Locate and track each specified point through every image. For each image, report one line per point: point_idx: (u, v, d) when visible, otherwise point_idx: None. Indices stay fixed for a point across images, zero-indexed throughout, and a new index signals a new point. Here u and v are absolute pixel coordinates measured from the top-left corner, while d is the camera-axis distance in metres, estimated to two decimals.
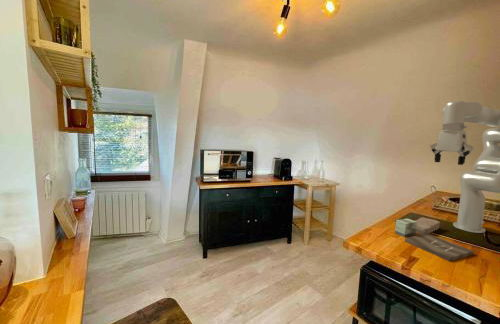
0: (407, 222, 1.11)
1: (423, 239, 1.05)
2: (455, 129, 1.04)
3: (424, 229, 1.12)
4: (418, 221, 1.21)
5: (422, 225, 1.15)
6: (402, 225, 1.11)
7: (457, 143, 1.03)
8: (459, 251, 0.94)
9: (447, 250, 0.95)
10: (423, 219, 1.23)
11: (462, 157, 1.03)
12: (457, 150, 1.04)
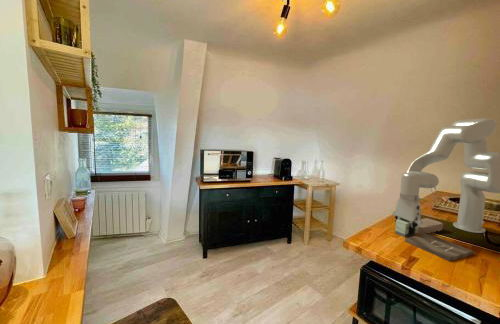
0: (407, 222, 1.11)
1: (423, 239, 1.05)
2: (410, 200, 1.08)
3: (419, 228, 1.14)
4: None
5: None
6: (402, 225, 1.11)
7: (412, 214, 1.08)
8: (459, 251, 0.94)
9: (447, 250, 0.95)
10: (426, 220, 1.22)
11: (412, 228, 1.10)
12: (412, 220, 1.09)
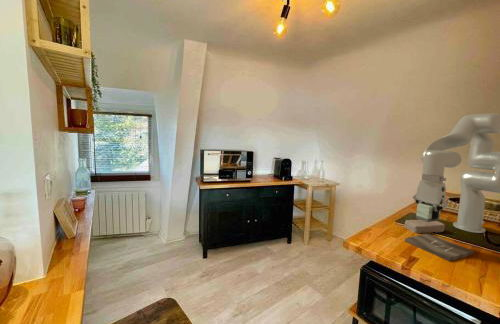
0: (430, 206, 1.01)
1: (423, 239, 1.05)
2: (434, 181, 0.98)
3: (415, 226, 1.15)
4: (418, 221, 1.21)
5: (416, 223, 1.17)
6: (425, 208, 1.01)
7: (436, 196, 0.98)
8: (459, 251, 0.94)
9: (447, 250, 0.95)
10: None
11: (436, 212, 1.00)
12: (436, 203, 0.98)
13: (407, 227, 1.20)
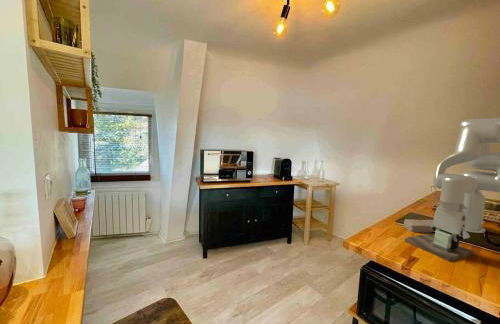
0: (449, 234, 0.95)
1: (423, 239, 1.05)
2: (453, 209, 0.92)
3: (411, 225, 1.17)
4: (419, 220, 1.22)
5: (414, 222, 1.19)
6: (444, 237, 0.94)
7: (456, 225, 0.92)
8: (459, 251, 0.94)
9: None
10: (430, 221, 1.21)
11: (455, 242, 0.93)
12: (456, 233, 0.92)
13: (405, 226, 1.22)
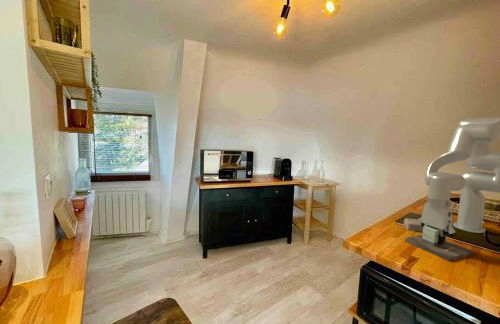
0: (436, 229, 0.99)
1: None
2: (440, 206, 0.96)
3: (408, 224, 1.19)
4: None
5: (412, 221, 1.20)
6: (431, 232, 0.99)
7: (442, 221, 0.96)
8: (459, 251, 0.94)
9: (447, 250, 0.95)
10: None
11: (442, 237, 0.98)
12: (442, 228, 0.96)
13: (404, 224, 1.24)
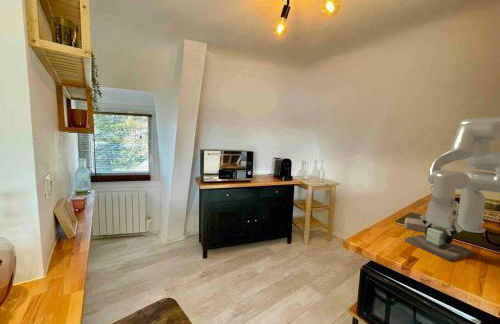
0: (441, 231, 0.98)
1: (423, 239, 1.05)
2: (445, 204, 0.95)
3: (405, 222, 1.21)
4: (421, 220, 1.22)
5: (411, 221, 1.21)
6: (435, 234, 0.97)
7: (447, 220, 0.94)
8: (459, 251, 0.94)
9: (447, 250, 0.95)
10: None
11: (450, 236, 0.95)
12: (447, 227, 0.95)
13: None
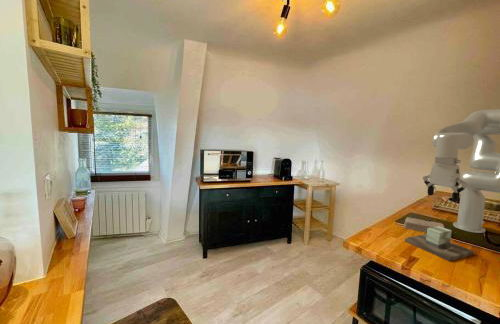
0: (441, 231, 0.98)
1: (423, 239, 1.05)
2: (448, 164, 0.97)
3: (405, 221, 1.22)
4: (421, 220, 1.22)
5: (411, 220, 1.22)
6: (435, 234, 0.97)
7: (451, 179, 0.97)
8: (459, 251, 0.94)
9: (447, 250, 0.95)
10: (434, 223, 1.18)
11: (456, 193, 0.97)
12: (451, 186, 0.98)
13: None
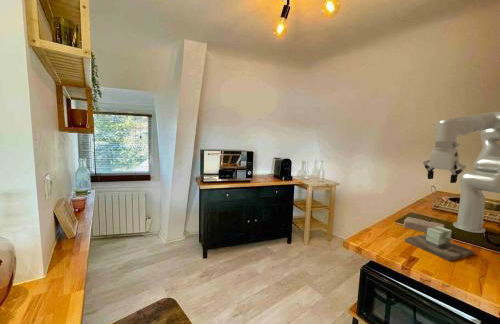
0: (441, 231, 0.98)
1: (423, 239, 1.05)
2: (447, 147, 1.03)
3: (404, 221, 1.23)
4: (422, 220, 1.22)
5: (410, 220, 1.22)
6: (435, 234, 0.97)
7: (449, 161, 1.03)
8: (459, 251, 0.94)
9: (447, 250, 0.95)
10: (434, 223, 1.18)
11: (454, 175, 1.03)
12: (449, 168, 1.03)
13: None
